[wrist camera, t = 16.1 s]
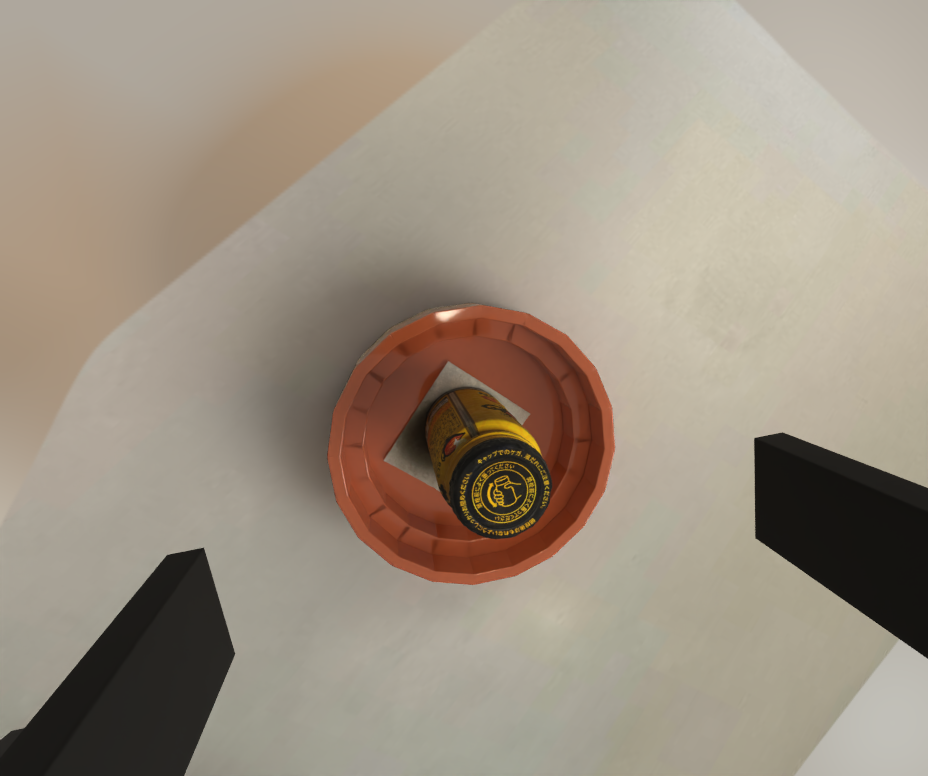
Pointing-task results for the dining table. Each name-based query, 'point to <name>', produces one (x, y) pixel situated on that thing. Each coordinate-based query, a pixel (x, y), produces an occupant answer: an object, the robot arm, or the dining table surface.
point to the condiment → (476, 456)
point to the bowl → (508, 373)
